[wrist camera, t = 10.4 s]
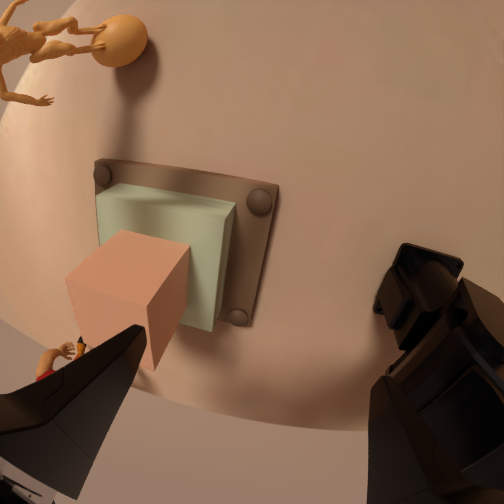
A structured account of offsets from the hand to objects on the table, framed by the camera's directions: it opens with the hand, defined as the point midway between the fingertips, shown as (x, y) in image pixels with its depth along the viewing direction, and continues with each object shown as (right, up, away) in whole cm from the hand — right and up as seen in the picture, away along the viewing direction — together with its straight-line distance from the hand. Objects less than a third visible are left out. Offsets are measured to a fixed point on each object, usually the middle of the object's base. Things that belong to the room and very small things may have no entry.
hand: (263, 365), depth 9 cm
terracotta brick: (-7, +3, +9) cm, 12 cm away
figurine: (-10, +19, +6) cm, 22 cm away
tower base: (-6, +5, +12) cm, 15 cm away
